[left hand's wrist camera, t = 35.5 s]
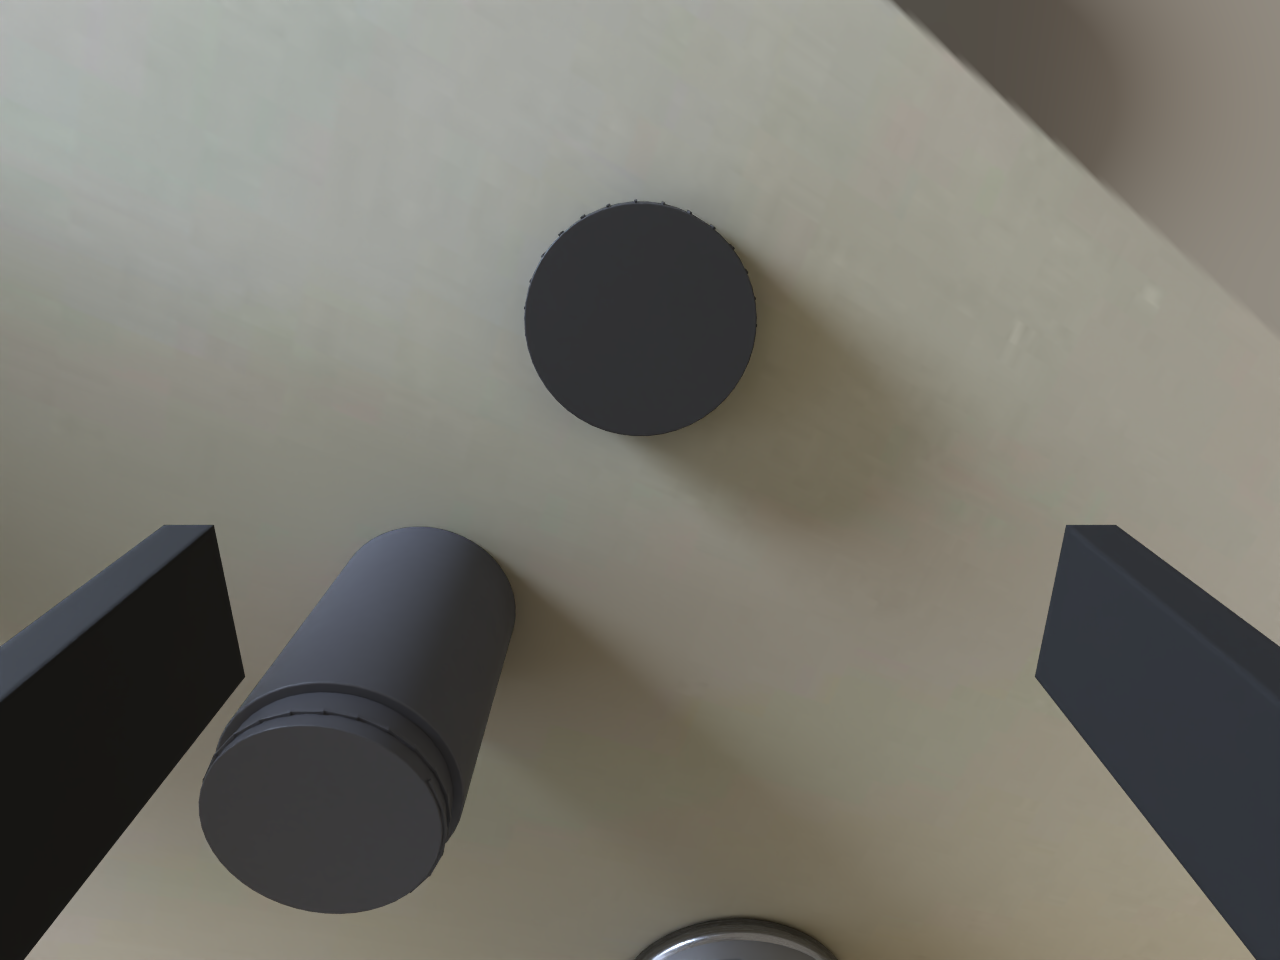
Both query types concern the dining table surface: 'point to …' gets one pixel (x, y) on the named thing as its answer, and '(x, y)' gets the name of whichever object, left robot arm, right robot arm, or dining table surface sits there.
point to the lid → (640, 318)
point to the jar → (364, 728)
